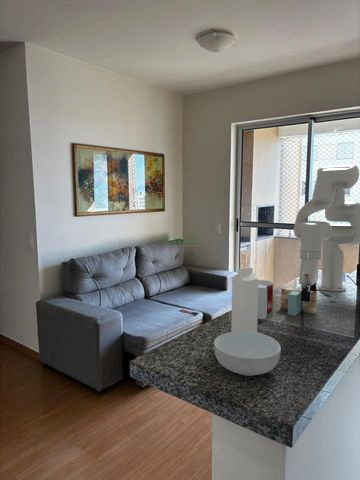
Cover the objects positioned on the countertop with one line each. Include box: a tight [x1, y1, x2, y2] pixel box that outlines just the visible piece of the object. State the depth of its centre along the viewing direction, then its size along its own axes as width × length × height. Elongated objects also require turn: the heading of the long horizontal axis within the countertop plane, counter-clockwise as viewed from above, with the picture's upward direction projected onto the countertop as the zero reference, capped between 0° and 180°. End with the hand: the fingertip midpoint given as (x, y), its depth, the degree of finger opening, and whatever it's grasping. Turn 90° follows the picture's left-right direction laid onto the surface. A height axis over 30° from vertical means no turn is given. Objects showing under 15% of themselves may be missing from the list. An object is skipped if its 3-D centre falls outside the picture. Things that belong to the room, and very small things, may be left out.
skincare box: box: [258, 285, 268, 320], centre depth 132 cm, size 6×4×12 cm
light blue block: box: [287, 285, 308, 317], centre depth 141 cm, size 16×3×8 cm, turn 146°
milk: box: [230, 267, 259, 333], centre depth 114 cm, size 6×6×22 cm
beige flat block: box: [280, 286, 318, 314], centre depth 141 cm, size 13×3×8 cm, turn 55°
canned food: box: [258, 279, 274, 313], centre depth 141 cm, size 8×8×11 cm
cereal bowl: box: [213, 331, 282, 377], centre depth 92 cm, size 17×17×7 cm
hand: (308, 298), depth 138 cm, fingers open, 9 cm apart
